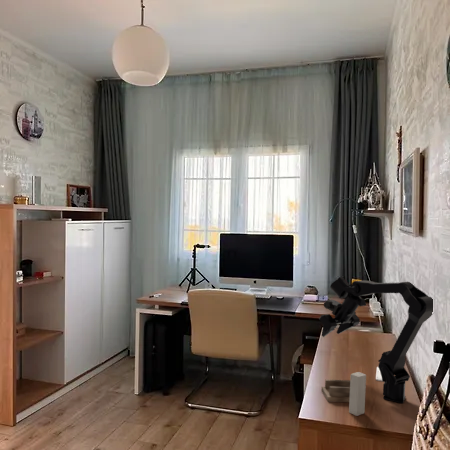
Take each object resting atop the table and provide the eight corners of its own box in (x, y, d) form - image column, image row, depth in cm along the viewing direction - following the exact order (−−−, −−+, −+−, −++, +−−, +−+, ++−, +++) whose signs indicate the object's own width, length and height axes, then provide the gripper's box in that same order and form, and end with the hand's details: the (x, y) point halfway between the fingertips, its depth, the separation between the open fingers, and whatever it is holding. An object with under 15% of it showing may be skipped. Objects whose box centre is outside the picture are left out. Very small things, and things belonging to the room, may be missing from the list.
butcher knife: (389, 371, 181) (389, 368, 181) (389, 383, 167) (389, 380, 167) (376, 368, 182) (376, 366, 182) (375, 381, 169) (375, 378, 168)
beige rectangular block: (356, 409, 141) (358, 371, 141) (364, 413, 139) (366, 374, 139) (348, 412, 139) (350, 374, 139) (356, 416, 137) (358, 377, 136)
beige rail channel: (351, 391, 156) (352, 379, 156) (359, 402, 147) (360, 389, 147) (321, 390, 156) (321, 378, 156) (327, 401, 147) (328, 388, 147)
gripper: (350, 291, 180) (332, 318, 187) (320, 294, 168) (302, 322, 175) (368, 310, 172) (349, 337, 179) (338, 314, 161) (319, 343, 168)
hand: (330, 334), depth 176 cm, fingers open, 9 cm apart
